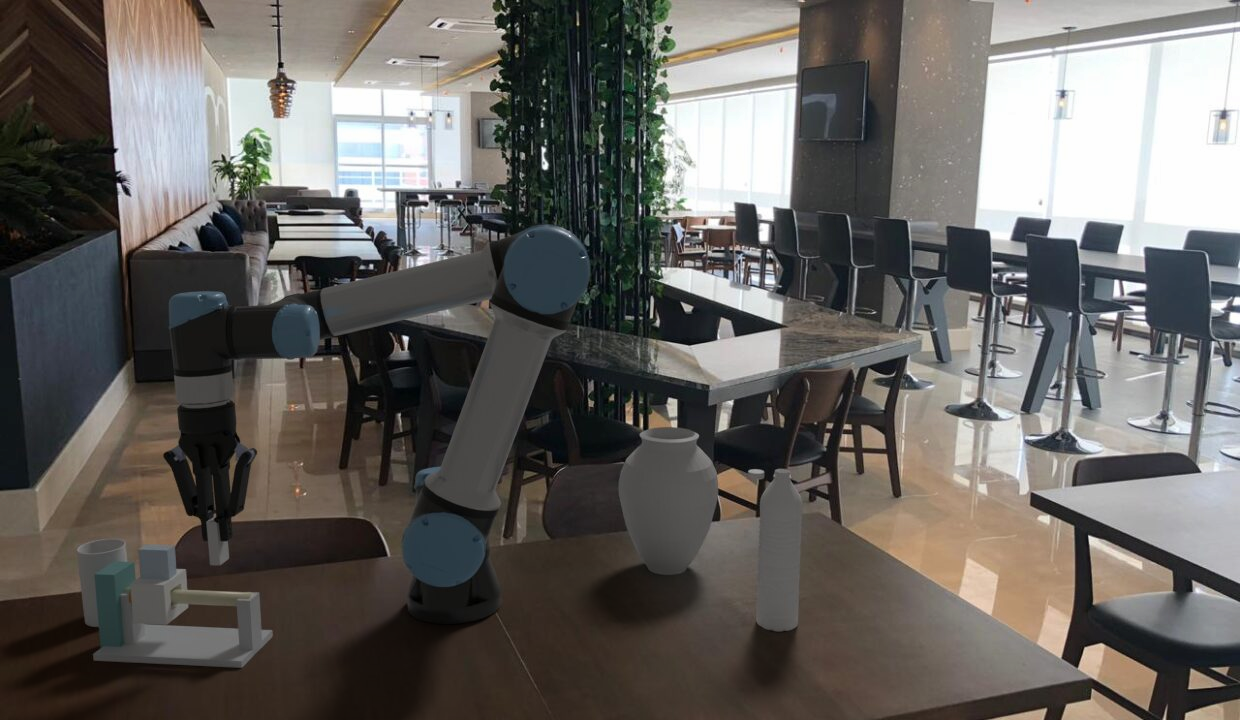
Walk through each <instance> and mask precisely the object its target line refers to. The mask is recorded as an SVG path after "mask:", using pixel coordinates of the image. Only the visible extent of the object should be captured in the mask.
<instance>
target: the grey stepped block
mask: <svg viewBox="0 0 1240 720" xmlns="http://www.w3.org/2000/svg"><path fill="white" fill-rule="evenodd" d="M175 546H176V545H171V544H170V545H169V544H168V545H167V544H166V545H163V544H144V545H143V546H142V547H140V548H139V547H138V549H137V552H138V553H137V554H138V555H137V557H138V567H139V577H138V578H137V579H136V580H135V581H134V582H132V583H131V584H130V587H131V599H132V612H133V623H139V624H147V625H169V624H170V623H171V622H172V621H173V620H175V619H176V618H177V617H179V615H181V614H182V613H183V612H184V611H186V610H187V609H189V604H174V603H171V595H170V591H171V590H172V589H178V590H188V581H187V569H186V568H177V559H176V547H175Z"/></svg>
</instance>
